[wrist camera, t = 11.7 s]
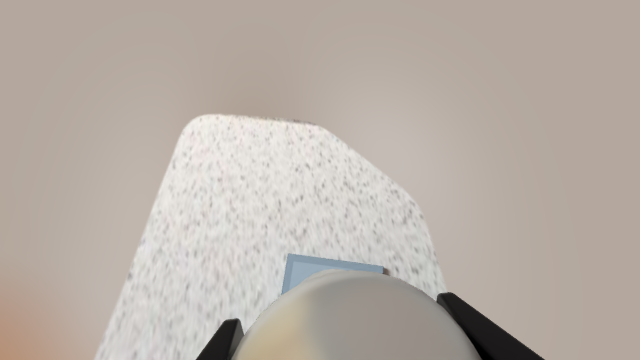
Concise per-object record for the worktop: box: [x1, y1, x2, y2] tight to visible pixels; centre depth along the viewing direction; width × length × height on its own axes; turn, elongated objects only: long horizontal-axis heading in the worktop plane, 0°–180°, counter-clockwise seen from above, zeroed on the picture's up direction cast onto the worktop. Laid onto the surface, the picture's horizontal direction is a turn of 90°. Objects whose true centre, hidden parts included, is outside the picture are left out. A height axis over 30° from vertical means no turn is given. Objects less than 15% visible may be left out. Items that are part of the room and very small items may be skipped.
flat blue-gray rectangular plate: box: [281, 254, 383, 295], centre depth 25 cm, size 9×8×1 cm
